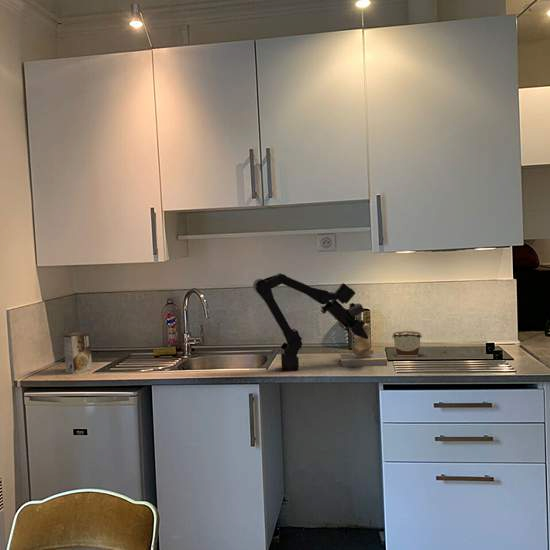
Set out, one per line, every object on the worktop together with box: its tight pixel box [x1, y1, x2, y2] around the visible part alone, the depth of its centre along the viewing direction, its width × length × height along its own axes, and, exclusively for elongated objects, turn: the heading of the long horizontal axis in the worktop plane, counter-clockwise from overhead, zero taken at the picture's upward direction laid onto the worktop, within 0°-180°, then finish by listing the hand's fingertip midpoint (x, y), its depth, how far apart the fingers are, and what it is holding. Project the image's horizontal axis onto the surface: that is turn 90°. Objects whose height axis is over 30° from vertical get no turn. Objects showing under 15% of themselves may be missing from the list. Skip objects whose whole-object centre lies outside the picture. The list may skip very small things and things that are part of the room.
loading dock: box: [339, 352, 388, 368], centre depth 250 cm, size 18×13×3 cm
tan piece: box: [351, 322, 374, 356], centre depth 250 cm, size 6×7×12 cm
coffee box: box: [62, 331, 93, 375], centre depth 258 cm, size 9×6×16 cm
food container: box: [391, 330, 422, 355], centre depth 261 cm, size 12×6×10 cm, turn 74°
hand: (365, 337), depth 250 cm, fingers closed on tan piece, 5 cm apart
